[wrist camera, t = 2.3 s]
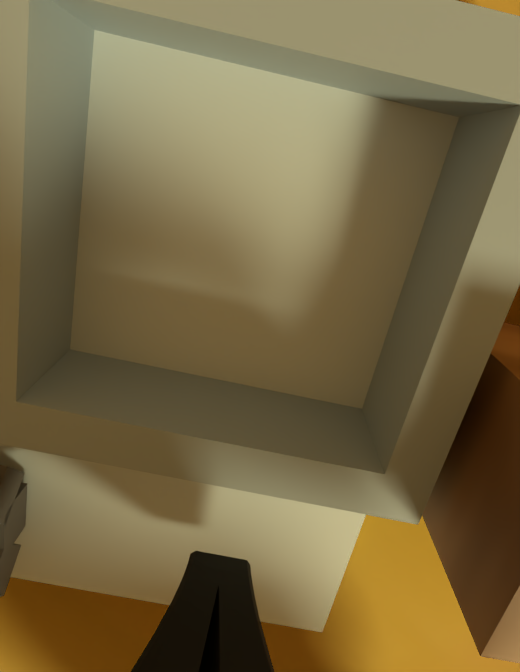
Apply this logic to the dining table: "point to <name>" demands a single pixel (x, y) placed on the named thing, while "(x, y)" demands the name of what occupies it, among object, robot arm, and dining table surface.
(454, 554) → the walnut block
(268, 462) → the chassis
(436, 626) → the dining table surface
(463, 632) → the dining table surface
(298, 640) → the dining table surface
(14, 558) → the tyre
